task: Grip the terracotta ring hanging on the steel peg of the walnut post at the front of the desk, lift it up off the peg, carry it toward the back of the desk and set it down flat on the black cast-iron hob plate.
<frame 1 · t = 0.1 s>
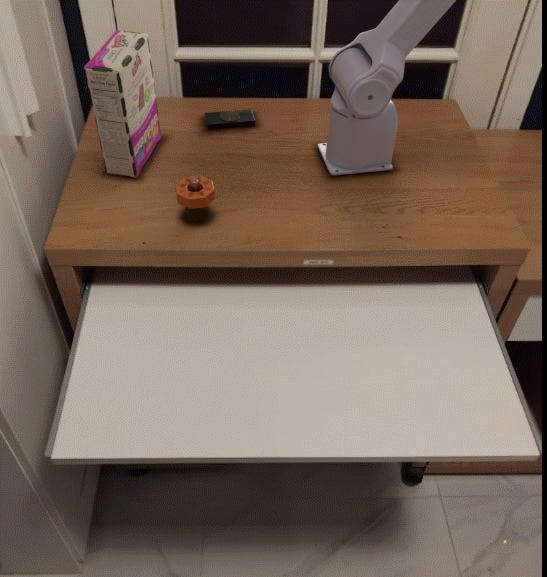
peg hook: (196, 215, 85), on the table
candy bar box: (134, 156, 95), on the table
ring: (195, 197, 83), point 3 cm above the table, touching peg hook
hob plate: (230, 122, 102), on the table
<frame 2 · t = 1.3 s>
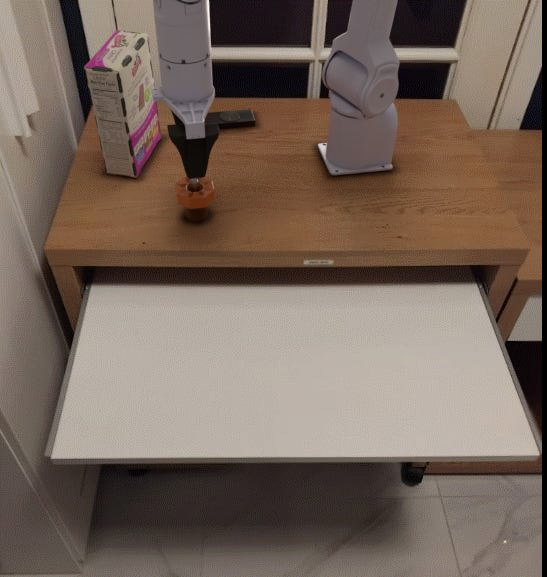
hand: (192, 158, 79), 9 cm above the table, tool pointing down, fingers open, 7 cm apart
nothing on the table moved.
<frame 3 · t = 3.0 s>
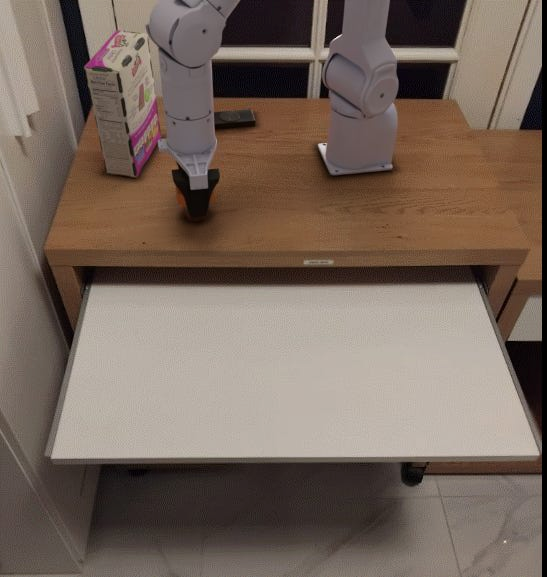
hand: (195, 202, 83), 2 cm above the table, tool pointing down, fingers closed on ring, 5 cm apart
ring: (195, 197, 83), point 3 cm above the table, touching gripper, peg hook
everything else where it was.
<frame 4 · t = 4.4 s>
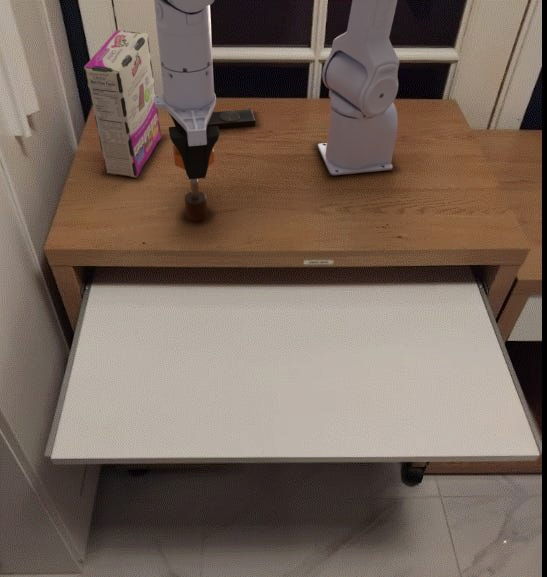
hand: (194, 164, 80), 8 cm above the table, tool pointing down, fingers closed on ring, 5 cm apart
ring: (193, 159, 79), point 9 cm above the table, touching gripper
everything else where it was.
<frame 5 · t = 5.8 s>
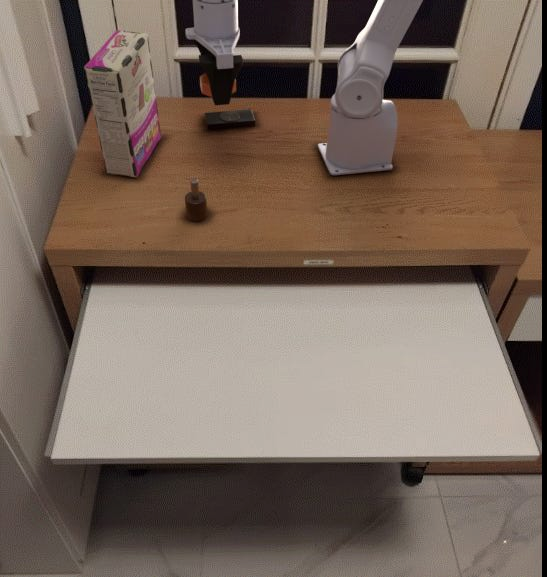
hand: (218, 94, 90), 9 cm above the table, tool pointing down, fingers closed on ring, 5 cm apart
ring: (218, 89, 90), point 10 cm above the table, touching gripper
everything else where it was.
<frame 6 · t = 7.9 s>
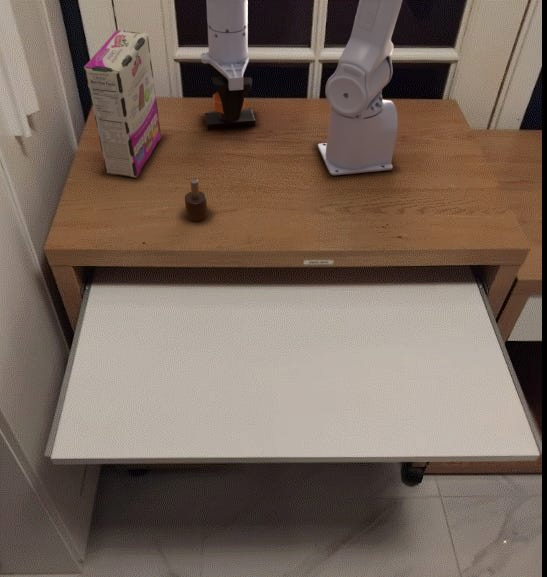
hand: (229, 110, 100), 2 cm above the table, tool pointing down, fingers closed on ring, 5 cm apart
ring: (229, 106, 100), point 3 cm above the table, touching gripper
everything else where it was.
when the fingers open (0 cm above the table, at t = 9.0 s): ring stays where it is, resting on hob plate.
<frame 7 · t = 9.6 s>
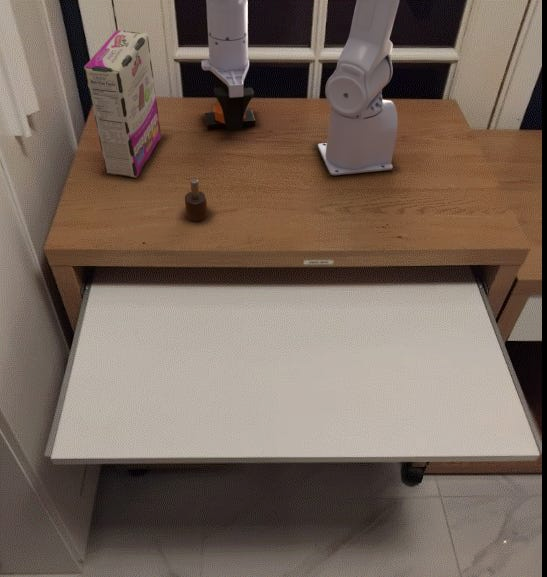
hand: (229, 117, 101), 1 cm above the table, tool pointing down, fingers open, 7 cm apart
ring: (229, 115, 101), point 1 cm above the table, touching hob plate
everything else where it was.
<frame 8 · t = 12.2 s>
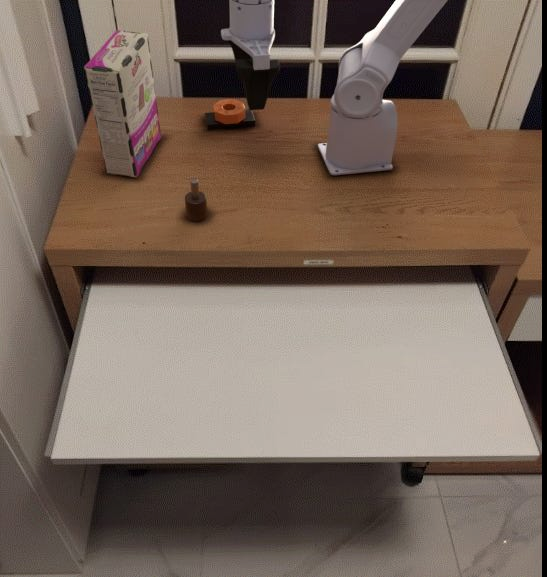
hand: (251, 95, 90), 9 cm above the table, tool pointing down, fingers open, 7 cm apart
nothing on the table moved.
at the end: ring 0.1 cm off-centre on the hob plate, point 1.1 cm above the hob plate's base; ring tilted 0°; the gripper is holding nothing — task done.
